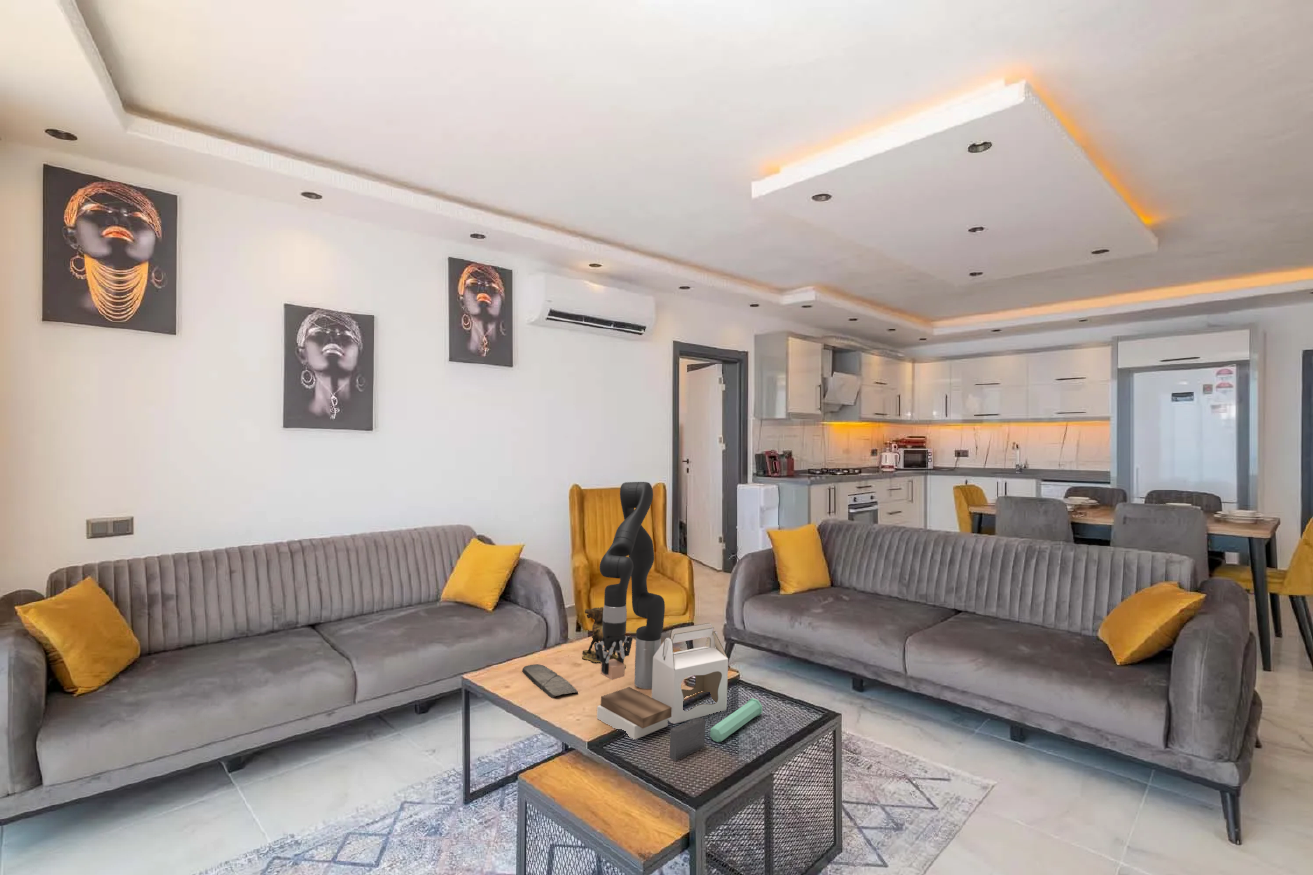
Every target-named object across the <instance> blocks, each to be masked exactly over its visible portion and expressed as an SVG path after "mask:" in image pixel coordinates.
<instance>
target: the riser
mask: <svg viewBox="0 0 1313 875" xmlns="http://www.w3.org/2000/svg"><path fill="white" fill-rule="evenodd" d="M596 709H597V710H596V711H597V712H596V719H597V720H599V721H600V720H601V722H602V723H604V724H606V725H607V724H608V725H607V726H609V725H610V727H611V726H612V727H611V728H613V729H614V728H616V729H622V730H624V731H626V733H627V734H628V736H629V738H630V739H632V738H633V739H632V740H634V739H635V740H637V739H640V738H642V737H644V736H647V735H649V734H652V733H654V732H656V731H658V730H662V729H664V728H666V727H668V726H669V725H668V724H669V721H668V719H665V720H663V721H660V722H658V723H655V724H653V725H650V726H648V727H645V728H641V727H639V726H637V725H635V724H633V723H632V722H630V721H628V720H626V719H624V718H622V717H621V716H619V715H617V714H615V713H613V712H611V711H610V710H608V709H606V708H604V707H602V706H601V704H600V705H597V708H596ZM616 729H615V730H616ZM628 736H627V737H628Z"/></svg>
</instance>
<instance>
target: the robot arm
mask: <svg viewBox="0 0 1313 875" xmlns="http://www.w3.org/2000/svg"><path fill="white" fill-rule="evenodd" d="M653 497H654V491H653V487H652V484H651V483H650V482H647V481H627V482H626V481H625V482H623V483H622V484H621V485H620V489H619V498H620V504H621V509H622V514H623V521H622V522H621V523H620V524H619V526H618V527H617V529H616V531H615V534H614V538H613V541H612V544H611V545H610V546H609V548H608V549H607V551H606V552H605V554H604V555H603V556H602V558H601V561H600V562H599V571H600V574H601V576H602V577H604V578H609V579H619V583H615V584H614V583H613V584H609V585H607V586H606V587H605V588H604V600H603V602H604V604H603V627H602V633H603V639H602V641H601V642H600V641H599V643H597V642H595V643H594V644H593V645H594V652H595V653H596V659H597V660H598V661H600V662H602V672H603V674H605V675H608V671H609V663H608V662H609V659H610V656H612V654H613V652H614V651H616V653H615V654H616V655H617V656H618V658H617V661H619V662H621V663H623V664H625V662H624V661H625V658H626V657H629V655H630V653H631V648H632V643H633V637H632V636H629V635H627V618H628V616H627V615H628V614H627V611H628V610H627V594H628V587H629V584H630V580H631V607H632V611H633V613H634V615H635V616H638V617H639V618H643V619H646V625H643V626H639V627H638V628H637V629H636V631H635V654H634V655H635V658H634V686H636V687H637V688H638V689H639V688H640V689H644V690H652V673H653V656H654V655H655V653H656V652H657V650H658V649H659V648H660V646H661V645H662V633H663V629H664V624H665V613H666V612H665V611H666V604H665V599H664V597H663V596H661V595H660V594H655V593H652V592H649V590H648V583H647V579H648V575H649V573H650V571H651V569H652V567H653V565H654V561H655V550H654V543H653V538H652V537H651V535H650V534H649V533H648V532H647V530H646V529H645V528H644V527H643V522H644V520H645V518H646V516H647V514H648V512H649V510H650V509H651V505H652V503H653V499H654V498H653Z"/></svg>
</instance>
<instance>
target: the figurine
mask: <svg viewBox="0 0 1313 875" xmlns="http://www.w3.org/2000/svg"><path fill="white" fill-rule="evenodd" d="M603 609H604V606H601V607H593V608H591V609H588V608H587V609H584V613H585V615H586V618H587V619H593V620H594V622H593V624H592V626H591V627H592V635H591V638H592V640H591V642H590V645H589V646H588V647H589V648H588V649H583V650H582V653H581V654H582V656H581V659H582V660H584V661H587V662H589V661H590V663H593V664H600V665H601V662H600V661H598V660H597V659H596V653H595V650H592V649H593V645H594V644H595V643H596V642H597V643H599V642H601V641H602V639H603V633H602V627H603ZM617 658H618V656H617V653H616V651H614V652H613V653H612V656H610V659H609V660H611V659H615V660H617ZM625 669H627V665H626V664H625Z"/></svg>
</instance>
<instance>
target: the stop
mask: <svg viewBox="0 0 1313 875" xmlns="http://www.w3.org/2000/svg"><path fill="white" fill-rule="evenodd" d="M669 734H670V735H669V736H670V737H669V759H672V760H673V761H675V762H676V761H679V760H681V759H683V758H685V757H687V756H688V755H691V754H693V753H695V752H698V751H700V750H702V749H704V748H705V740H706V720H705V719H704V718H702V717H698V718H694V719H691V720H688V721H687V722H685V723H681V724H680V725H678V726H675V727H673V728H671V729H670V733H669Z"/></svg>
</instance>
